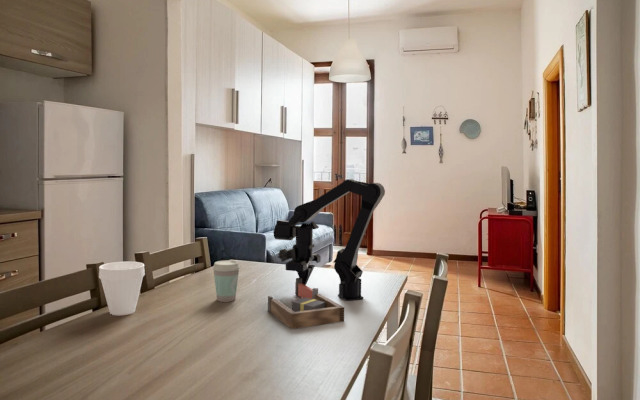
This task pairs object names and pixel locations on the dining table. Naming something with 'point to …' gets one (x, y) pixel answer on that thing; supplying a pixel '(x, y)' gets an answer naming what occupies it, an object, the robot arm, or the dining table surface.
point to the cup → (121, 285)
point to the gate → (304, 290)
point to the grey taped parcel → (307, 304)
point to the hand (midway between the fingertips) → (303, 286)
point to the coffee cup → (226, 279)
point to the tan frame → (307, 313)
